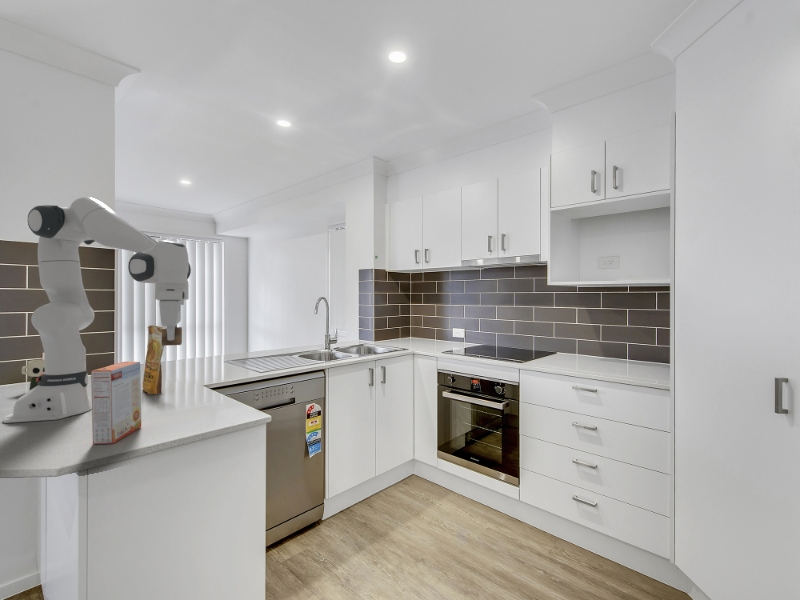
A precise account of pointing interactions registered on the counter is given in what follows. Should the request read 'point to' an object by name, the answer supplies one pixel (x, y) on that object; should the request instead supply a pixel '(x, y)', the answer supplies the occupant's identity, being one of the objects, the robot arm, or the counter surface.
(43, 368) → the character mug
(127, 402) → the cracker box
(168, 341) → the walnut cube
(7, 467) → the counter surface
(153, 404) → the counter surface
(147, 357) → the pancake mix bag
